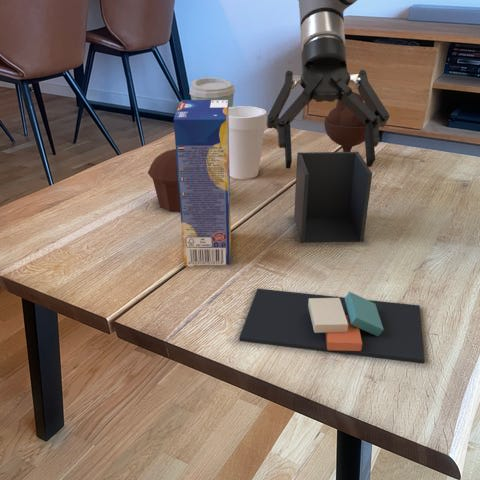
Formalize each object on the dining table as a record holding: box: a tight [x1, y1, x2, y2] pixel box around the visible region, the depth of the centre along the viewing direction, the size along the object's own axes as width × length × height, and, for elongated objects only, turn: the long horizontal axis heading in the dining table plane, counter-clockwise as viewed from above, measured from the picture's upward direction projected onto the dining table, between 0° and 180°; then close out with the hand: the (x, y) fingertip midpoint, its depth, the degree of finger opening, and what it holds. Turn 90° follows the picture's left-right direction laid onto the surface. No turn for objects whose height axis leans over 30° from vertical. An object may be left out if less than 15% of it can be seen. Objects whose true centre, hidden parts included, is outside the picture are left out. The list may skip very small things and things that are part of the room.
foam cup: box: [228, 105, 268, 180], centre depth 115 cm, size 10×9×13 cm
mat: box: [238, 288, 426, 364], centre depth 71 cm, size 22×12×1 cm, turn 78°
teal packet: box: [344, 291, 384, 337], centre depth 70 cm, size 6×4×1 cm, turn 178°
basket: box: [293, 151, 373, 244], centre depth 91 cm, size 11×10×12 cm
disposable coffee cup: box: [189, 76, 236, 108], centre depth 131 cm, size 11×11×15 cm
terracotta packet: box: [325, 315, 362, 351], centre depth 68 cm, size 6×4×1 cm, turn 177°
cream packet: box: [308, 298, 348, 333], centre depth 69 cm, size 6×4×1 cm, turn 1°
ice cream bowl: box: [323, 91, 367, 152], centre depth 119 cm, size 11×11×15 cm
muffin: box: [147, 148, 181, 213], centre depth 102 cm, size 12×11×10 cm
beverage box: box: [173, 99, 232, 268], centre depth 83 cm, size 7×11×22 cm, turn 0°
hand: (329, 164), depth 91 cm, fingers open, 13 cm apart
